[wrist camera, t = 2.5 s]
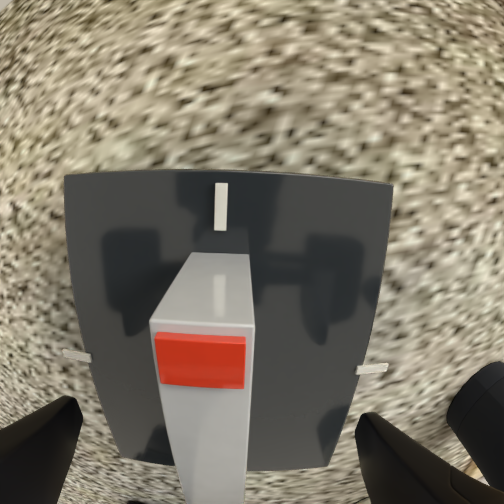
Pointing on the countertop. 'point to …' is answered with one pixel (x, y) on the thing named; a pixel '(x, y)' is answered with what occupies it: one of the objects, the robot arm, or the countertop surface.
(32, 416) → the robot arm
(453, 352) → the countertop surface
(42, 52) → the countertop surface
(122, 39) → the countertop surface
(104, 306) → the block
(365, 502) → the spray can
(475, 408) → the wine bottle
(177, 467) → the knob
